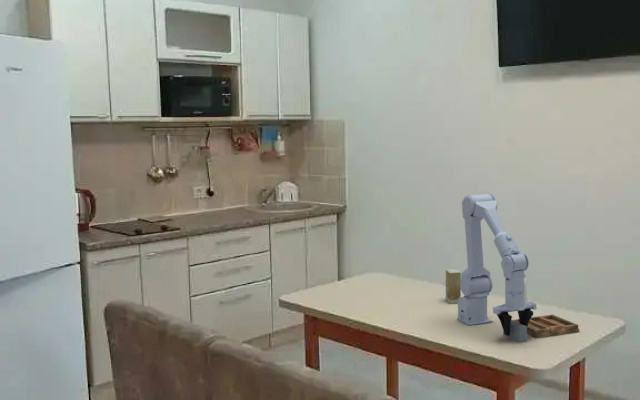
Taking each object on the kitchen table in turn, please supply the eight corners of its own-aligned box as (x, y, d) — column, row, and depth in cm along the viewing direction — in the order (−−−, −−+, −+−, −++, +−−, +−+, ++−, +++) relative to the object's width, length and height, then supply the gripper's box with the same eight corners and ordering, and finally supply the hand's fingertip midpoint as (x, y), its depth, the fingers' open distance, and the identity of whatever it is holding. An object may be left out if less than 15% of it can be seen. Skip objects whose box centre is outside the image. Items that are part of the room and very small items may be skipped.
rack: (536, 338, 206) (536, 329, 205) (510, 326, 219) (510, 317, 219) (579, 331, 211) (579, 323, 210) (551, 320, 224) (551, 312, 224)
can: (527, 310, 237) (527, 277, 235) (509, 309, 238) (509, 277, 237) (525, 305, 243) (525, 273, 242) (507, 305, 244) (507, 273, 243)
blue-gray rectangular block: (519, 343, 202) (519, 327, 202) (503, 334, 211) (503, 319, 210) (526, 342, 203) (526, 326, 202) (509, 333, 211) (509, 318, 211)
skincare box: (445, 299, 255) (444, 268, 253) (456, 299, 255) (455, 268, 254) (450, 304, 248) (449, 272, 247) (461, 303, 249) (460, 271, 247)
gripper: (501, 296, 199) (502, 340, 201) (542, 291, 204) (542, 334, 205) (489, 291, 206) (489, 333, 207) (528, 286, 210) (528, 328, 212)
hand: (514, 333), depth 207 cm, fingers open, 5 cm apart
